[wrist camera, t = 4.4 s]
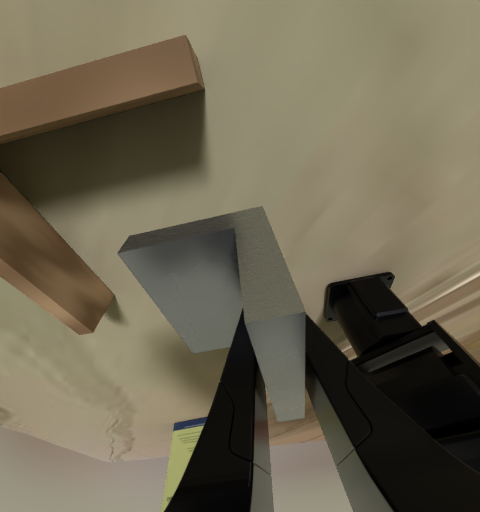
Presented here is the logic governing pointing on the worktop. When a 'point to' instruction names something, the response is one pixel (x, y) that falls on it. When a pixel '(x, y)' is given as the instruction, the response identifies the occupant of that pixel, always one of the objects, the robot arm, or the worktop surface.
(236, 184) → the worktop surface
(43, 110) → the wooden corner frame
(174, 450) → the protein box
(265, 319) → the bracket
